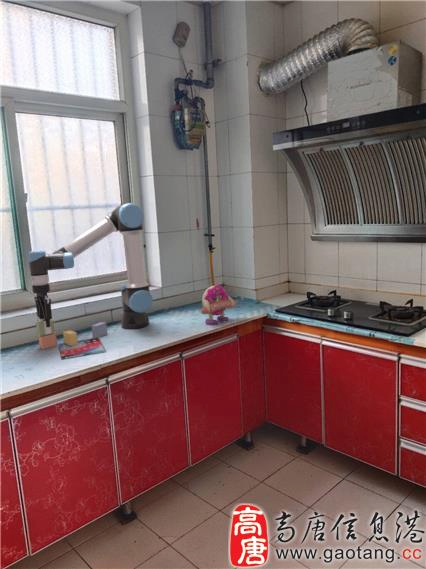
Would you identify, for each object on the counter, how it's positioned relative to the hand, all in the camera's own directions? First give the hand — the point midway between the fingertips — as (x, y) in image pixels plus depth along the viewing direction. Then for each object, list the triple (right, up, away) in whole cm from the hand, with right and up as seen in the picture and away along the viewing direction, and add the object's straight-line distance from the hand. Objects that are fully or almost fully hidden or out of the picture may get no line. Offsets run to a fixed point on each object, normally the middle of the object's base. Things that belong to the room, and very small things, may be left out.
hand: (46, 332), depth 207 cm
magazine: (+18, -7, -5) cm, 20 cm away
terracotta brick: (+1, -7, +1) cm, 7 cm away
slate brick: (+21, -3, +15) cm, 26 cm away
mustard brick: (+11, -6, +3) cm, 13 cm away
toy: (+82, +3, +27) cm, 86 cm away
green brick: (0, 0, 0) cm, 1 cm away
